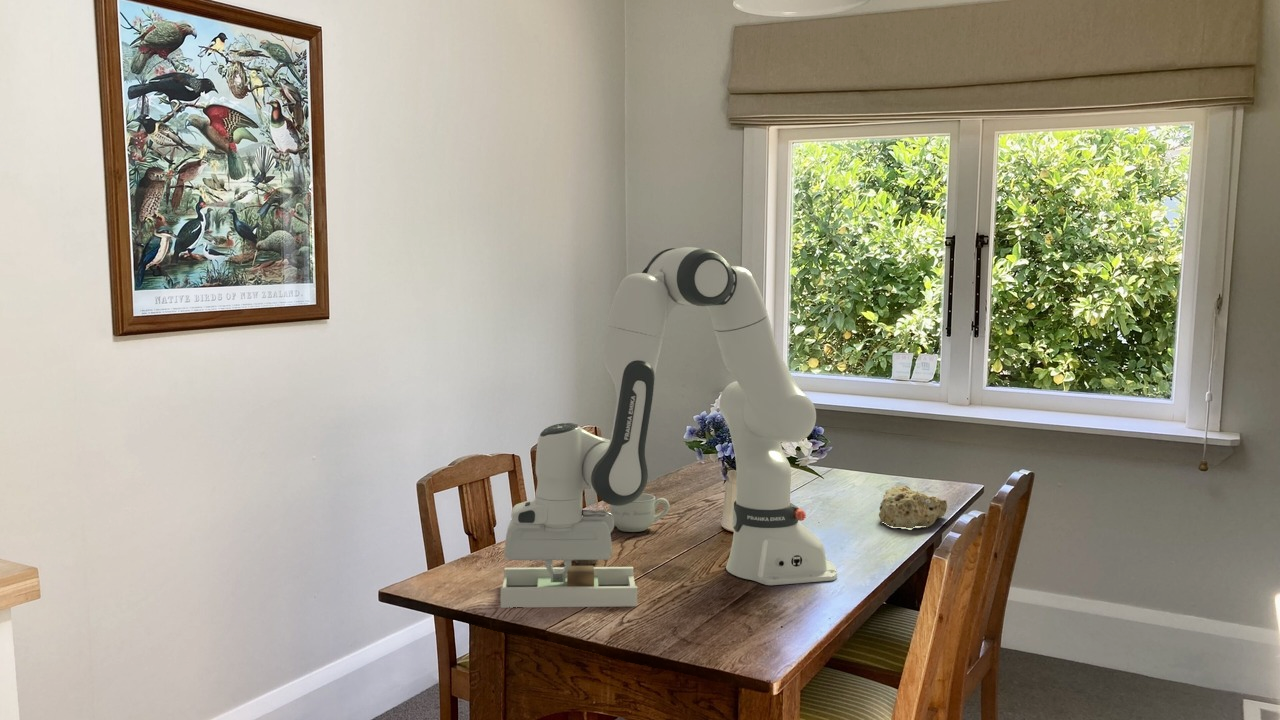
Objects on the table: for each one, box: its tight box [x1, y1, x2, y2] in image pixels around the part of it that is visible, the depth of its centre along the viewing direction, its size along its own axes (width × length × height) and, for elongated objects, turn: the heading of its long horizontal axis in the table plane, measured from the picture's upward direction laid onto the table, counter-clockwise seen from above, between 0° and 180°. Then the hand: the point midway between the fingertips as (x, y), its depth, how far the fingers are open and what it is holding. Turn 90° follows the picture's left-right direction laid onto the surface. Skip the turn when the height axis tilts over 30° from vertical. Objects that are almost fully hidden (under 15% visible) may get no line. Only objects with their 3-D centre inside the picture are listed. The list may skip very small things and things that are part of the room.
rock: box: [878, 485, 948, 529], centre depth 240 cm, size 21×14×10 cm
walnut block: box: [567, 565, 595, 587], centre depth 184 cm, size 5×5×3 cm
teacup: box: [609, 492, 671, 533], centre depth 228 cm, size 14×11×8 cm
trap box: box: [500, 566, 639, 609], centre depth 184 cm, size 25×12×4 cm, turn 94°
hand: (558, 581), depth 184 cm, fingers closed
